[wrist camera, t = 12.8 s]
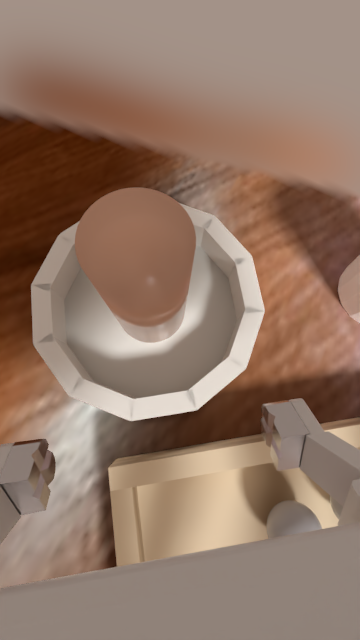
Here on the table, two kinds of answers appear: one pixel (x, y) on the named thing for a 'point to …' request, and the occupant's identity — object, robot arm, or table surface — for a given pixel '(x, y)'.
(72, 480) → the table surface
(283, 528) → the pebble
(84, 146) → the table surface
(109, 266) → the peach cylinder
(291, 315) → the table surface
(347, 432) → the parts tray
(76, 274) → the bowl
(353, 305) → the shot glass
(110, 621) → the robot arm
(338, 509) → the pebble
